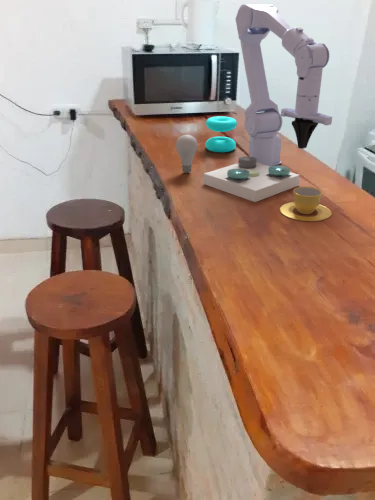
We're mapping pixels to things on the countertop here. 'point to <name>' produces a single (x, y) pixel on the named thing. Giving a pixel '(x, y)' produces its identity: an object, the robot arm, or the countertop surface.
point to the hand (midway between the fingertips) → (302, 147)
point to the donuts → (221, 142)
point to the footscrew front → (238, 175)
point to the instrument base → (250, 180)
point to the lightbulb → (186, 151)
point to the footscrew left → (279, 172)
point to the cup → (306, 205)
